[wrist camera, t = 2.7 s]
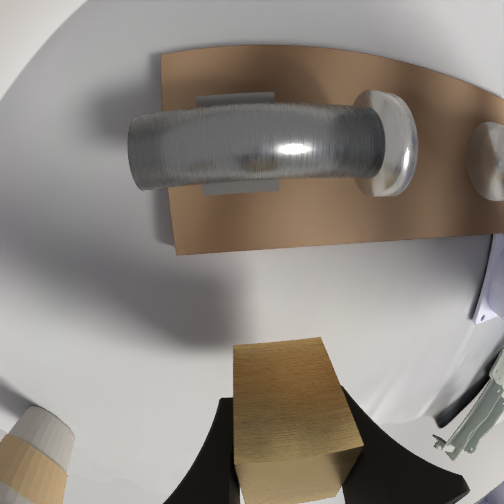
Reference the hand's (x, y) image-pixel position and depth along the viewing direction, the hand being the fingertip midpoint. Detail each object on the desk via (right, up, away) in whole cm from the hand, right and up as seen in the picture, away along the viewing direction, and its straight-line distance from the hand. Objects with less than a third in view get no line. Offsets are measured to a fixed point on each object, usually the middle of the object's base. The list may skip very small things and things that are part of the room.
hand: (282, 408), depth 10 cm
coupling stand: (+6, +12, +2) cm, 13 cm away
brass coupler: (0, +1, +2) cm, 2 cm away
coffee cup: (-22, -11, +8) cm, 26 cm away
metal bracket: (+26, -12, +12) cm, 32 cm away
